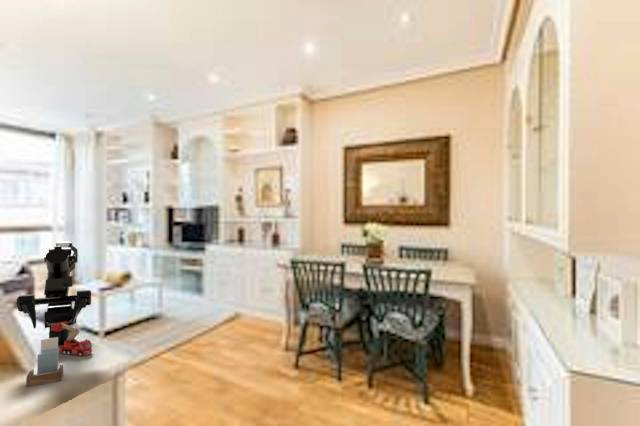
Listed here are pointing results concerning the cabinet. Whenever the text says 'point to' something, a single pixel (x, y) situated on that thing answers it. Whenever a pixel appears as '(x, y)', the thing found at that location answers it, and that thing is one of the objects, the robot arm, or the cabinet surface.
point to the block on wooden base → (48, 356)
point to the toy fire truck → (72, 341)
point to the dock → (43, 377)
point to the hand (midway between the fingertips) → (53, 325)
